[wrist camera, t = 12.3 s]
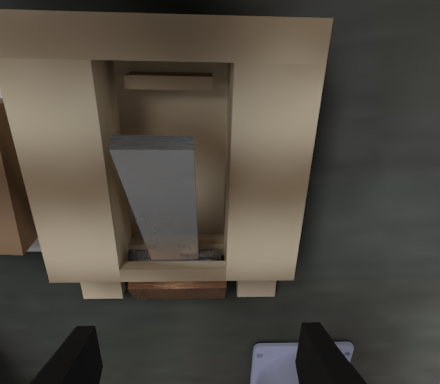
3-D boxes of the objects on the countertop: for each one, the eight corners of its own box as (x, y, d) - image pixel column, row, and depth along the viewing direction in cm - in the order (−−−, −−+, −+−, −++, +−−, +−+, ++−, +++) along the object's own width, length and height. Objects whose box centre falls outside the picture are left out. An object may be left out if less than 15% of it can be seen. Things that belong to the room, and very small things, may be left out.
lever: (224, 275, 23) (224, 298, 22) (136, 276, 23) (134, 299, 22) (246, 135, 11) (250, 174, 10) (57, 133, 10) (44, 173, 10)
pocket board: (271, 286, 24) (285, 336, 20) (88, 288, 23) (64, 341, 19) (302, 21, 17) (333, 18, 13) (35, 14, 16) (-21, 8, 12)
